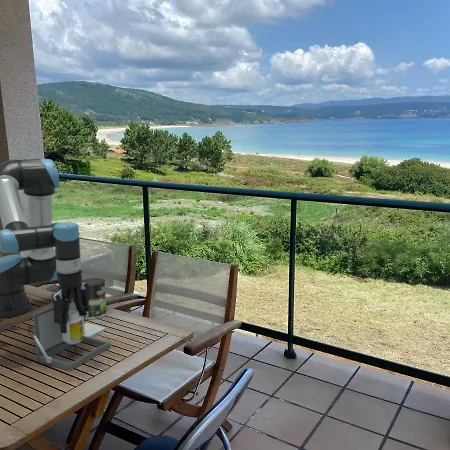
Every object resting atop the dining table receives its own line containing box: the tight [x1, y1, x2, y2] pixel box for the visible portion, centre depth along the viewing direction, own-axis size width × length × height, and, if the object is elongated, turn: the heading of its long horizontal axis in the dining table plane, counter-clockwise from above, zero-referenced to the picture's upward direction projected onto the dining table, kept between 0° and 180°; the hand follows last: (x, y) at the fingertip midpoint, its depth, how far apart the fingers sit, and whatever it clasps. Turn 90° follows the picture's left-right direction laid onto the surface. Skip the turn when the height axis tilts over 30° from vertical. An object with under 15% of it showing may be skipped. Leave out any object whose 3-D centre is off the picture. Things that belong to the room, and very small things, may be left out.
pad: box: [83, 322, 107, 338], centre depth 165 cm, size 10×10×1 cm
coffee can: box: [81, 277, 108, 320], centre depth 180 cm, size 10×10×14 cm
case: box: [32, 298, 111, 372], centre depth 146 cm, size 15×19×16 cm
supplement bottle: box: [66, 310, 83, 345], centre depth 146 cm, size 6×6×10 cm
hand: (74, 337), depth 147 cm, fingers closed on supplement bottle, 6 cm apart
